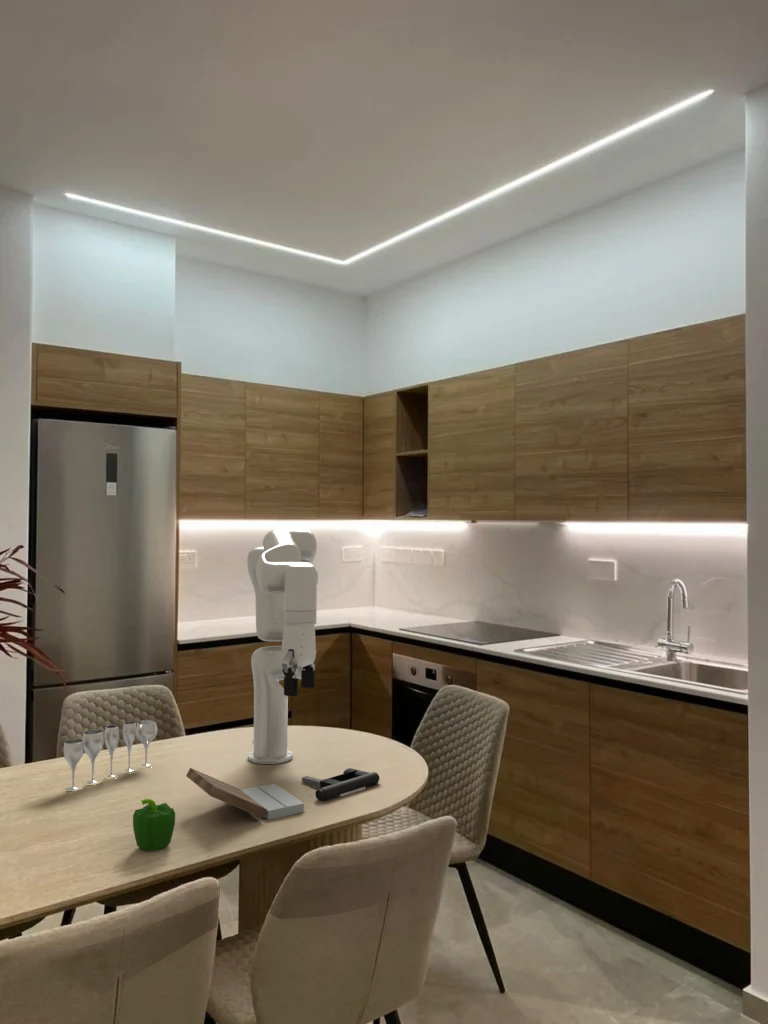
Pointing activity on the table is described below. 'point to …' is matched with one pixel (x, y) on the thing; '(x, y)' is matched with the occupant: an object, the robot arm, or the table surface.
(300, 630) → the robot arm
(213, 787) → the plank
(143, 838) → the bell pepper
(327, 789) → the door handle
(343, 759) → the table surface
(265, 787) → the laid boards
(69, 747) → the goblet set
